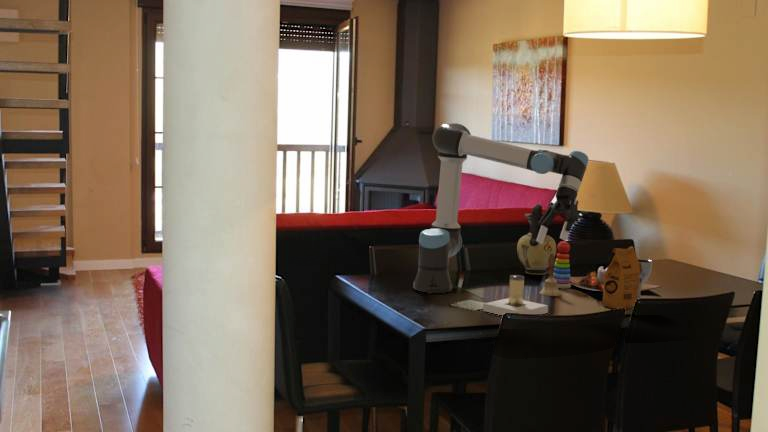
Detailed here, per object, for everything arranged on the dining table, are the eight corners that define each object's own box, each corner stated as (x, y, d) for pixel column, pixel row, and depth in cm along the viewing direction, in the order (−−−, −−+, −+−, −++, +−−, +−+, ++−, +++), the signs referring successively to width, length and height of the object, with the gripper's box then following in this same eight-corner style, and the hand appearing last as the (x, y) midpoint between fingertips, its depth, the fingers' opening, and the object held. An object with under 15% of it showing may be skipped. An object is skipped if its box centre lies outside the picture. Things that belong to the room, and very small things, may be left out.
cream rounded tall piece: (515, 268, 396) (519, 202, 392) (553, 270, 393) (557, 204, 390) (516, 275, 378) (519, 206, 375) (555, 277, 376) (559, 208, 372)
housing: (483, 311, 307) (483, 303, 306) (510, 305, 318) (510, 297, 318) (520, 320, 296) (520, 311, 295) (547, 313, 307) (547, 305, 307)
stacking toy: (570, 289, 351) (573, 243, 349) (550, 288, 352) (553, 242, 350) (570, 286, 359) (573, 240, 356) (551, 284, 360) (553, 239, 358)
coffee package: (597, 305, 323) (601, 246, 321) (620, 302, 330) (624, 244, 328) (618, 310, 315) (622, 250, 313) (641, 307, 322) (645, 248, 320)
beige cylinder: (505, 312, 307) (506, 276, 305) (513, 310, 310) (515, 274, 309) (516, 315, 303) (518, 278, 302) (525, 313, 307) (527, 276, 305)
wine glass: (646, 302, 331) (649, 263, 330) (625, 299, 336) (628, 260, 334) (652, 298, 338) (654, 260, 336) (631, 295, 342) (634, 258, 341)
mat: (448, 305, 315) (448, 304, 315) (469, 301, 324) (470, 299, 323) (474, 311, 307) (475, 310, 307) (495, 307, 315) (496, 305, 315)
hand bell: (548, 296, 336) (550, 255, 334) (535, 292, 343) (537, 252, 341) (565, 295, 340) (567, 254, 338) (552, 291, 347) (554, 251, 345)
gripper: (598, 190, 318) (581, 242, 311) (554, 199, 340) (537, 248, 333) (583, 180, 315) (565, 233, 308) (539, 190, 337) (522, 239, 330)
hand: (550, 241), depth 321 cm, fingers open, 13 cm apart
